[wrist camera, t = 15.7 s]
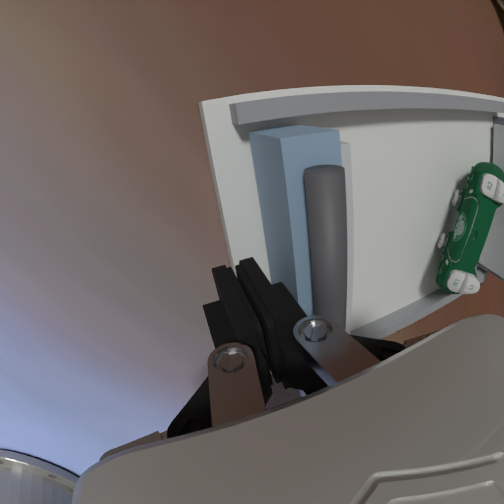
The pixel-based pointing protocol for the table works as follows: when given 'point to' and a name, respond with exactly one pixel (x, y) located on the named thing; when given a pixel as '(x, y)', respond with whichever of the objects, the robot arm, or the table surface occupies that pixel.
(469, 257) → the gaming controller
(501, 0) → the chinaware
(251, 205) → the vise base
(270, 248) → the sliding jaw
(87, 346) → the table surface
